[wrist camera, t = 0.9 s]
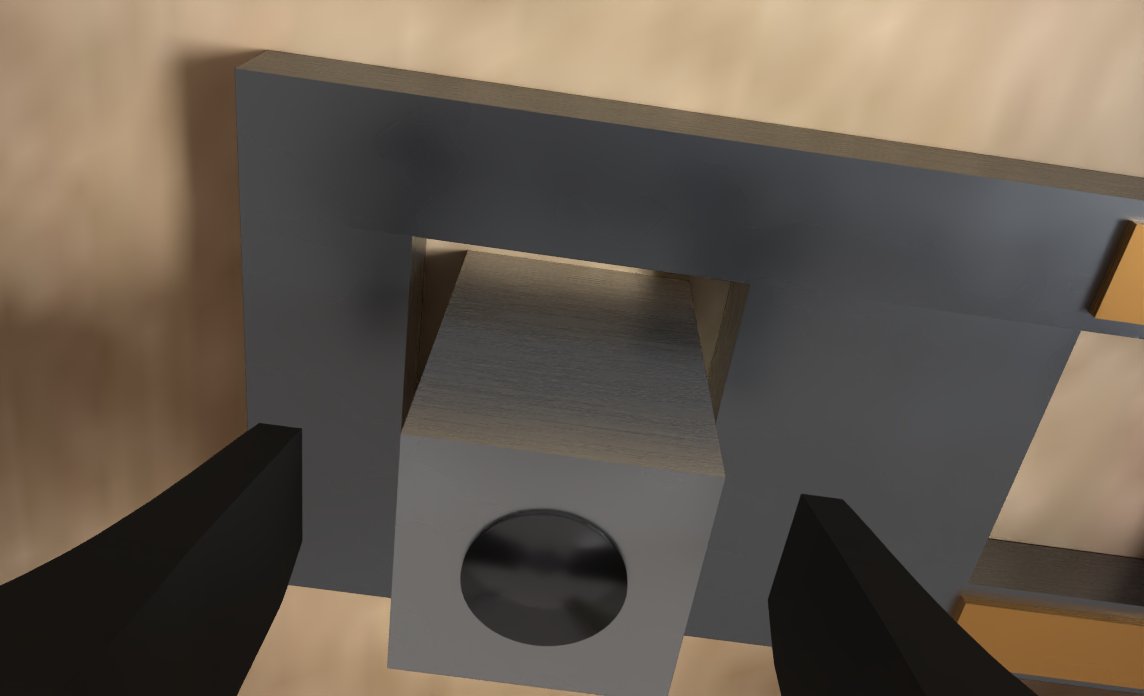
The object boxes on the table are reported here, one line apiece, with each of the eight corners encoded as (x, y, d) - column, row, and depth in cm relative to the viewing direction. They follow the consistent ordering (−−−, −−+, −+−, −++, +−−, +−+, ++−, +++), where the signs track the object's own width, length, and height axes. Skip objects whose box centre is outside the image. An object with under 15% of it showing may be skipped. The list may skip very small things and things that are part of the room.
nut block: (688, 280, 17) (726, 481, 11) (649, 461, 18) (666, 708, 13) (468, 249, 16) (399, 438, 11) (451, 434, 18) (385, 673, 13)
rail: (1566, 240, 16) (1669, 280, 14) (1275, 661, 20) (1328, 725, 19) (268, 49, 15) (229, 70, 13) (277, 531, 20) (249, 587, 18)
